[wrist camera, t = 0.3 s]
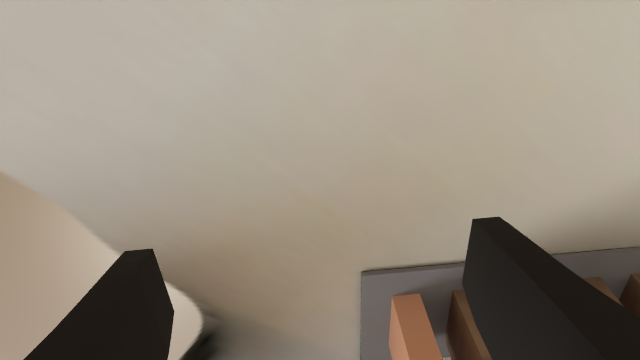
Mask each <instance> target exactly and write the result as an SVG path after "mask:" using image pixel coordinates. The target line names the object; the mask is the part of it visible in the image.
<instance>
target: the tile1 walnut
mask: <svg viewBox="0 0 640 360" xmlns="http://www.w3.org/2000/svg"><path fill="white" fill-rule="evenodd" d="M619 301H620V303H621V304H622V305H623V306H624V307H625V308H627V309H628V310H630V311H631V312H633V313H634V314H636V315H637V316H639V317H640V273H635V274H631V275H630V277H629V279H628V282H627V284H626V286H625V288H624V290H623V292H622V294H621V296H620V299H619Z"/></svg>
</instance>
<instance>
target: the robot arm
mask: <svg viewBox="0 0 640 360" xmlns="http://www.w3.org/2000/svg"><path fill="white" fill-rule="evenodd" d="M462 286H463V289H464V292H465V295H466V298H467V301H468V304H469V307H470V310H471V313H472V316H473V319H474V322H475V324H476V326H477V329H478V331H479V333H480V335H481V337H482V339H483V341H484V343H485V346H486V348H487V350H488V352H489V354H490V356H491V358H492V360H640V317H639V316H637V315H636V314H634V313H633V312H631V311H630V310H628V309H627V308H625V307H624V306H622V305H621V304H619V303H617V302H616V301H614V300H613V299H611V298H610V297H608V296H607V295H605V294H604V293H602V292H601V291H599V290H598V289H597V288H595V287H594V286H592V285H591V284H589V283H588V282H587V281H585V280H584V279H582V278H581V277H580V276H578V275H577V274H575V273H574V272H573V271H571V270H570V269H568V268H567V267H566V266H564V265H563V264H562V263H560V262H559V261H558V260H556V259H555V258H554V257H552V256H551V255H550V254H548V253H547V252H546V251H544V250H543V249H542V248H540V247H539V246H538V245H536V244H535V243H534V242H532V241H531V240H530V239H528V238H527V237H526V236H525V235H523V234H522V233H521V232H519V231H518V230H517V229H515V228H514V227H513V226H511V225H510V224H509V223H507V222H506V221H504V220H503V219H502V218H500V217H491V218H480V219H473V220H472V226H471V232H470V238H469V244H468V250H467V255H466V261H465V267H464V273H463V279H462ZM173 316H174V310H173V306H172V304H171V301H170V298H169V295H168V292H167V289H166V286H165V283H164V280H163V277H162V274H161V271H160V268H159V266H158V263H157V260H156V257H155V254H154V251H153V249H144V250H133V251H125V252H124V253H123V254H122V255H121V256H120V257H119V258H118V259H117V260H116V261H115V263H114V264H113V265H112V266H111V267H110V268H109V269H108V270H107V271H106V273H105V274H104V275H103V276H102V277H101V278H100V279H99V280H98V282H97V283H96V284H95V285H94V286H93V287H92V288H91V289H90V290H89V292H88V293H87V294H86V295H85V296H84V297H83V298H82V299H81V301H80V302H79V303H78V304H77V305H76V306H75V307H74V308H73V309H72V310H71V311H70V312H69V314H68V315H67V316H66V317H65V318H64V319H63V320H62V321H61V322H60V323H59V324H58V326H57V327H56V328H55V329H54V330H53V331H52V332H51V333H50V334H49V335H48V336H47V337H46V338H45V339H44V340H43V341H42V342H41V343H40V344H39V345H38V346H37V347H36V348H35V349H34V350H33V351H32V352H31V353H30V354H29V355H28V356H27V357H26V358H25V359H24V360H167V358H168V354H169V347H170V340H171V333H172V325H173Z"/></svg>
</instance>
